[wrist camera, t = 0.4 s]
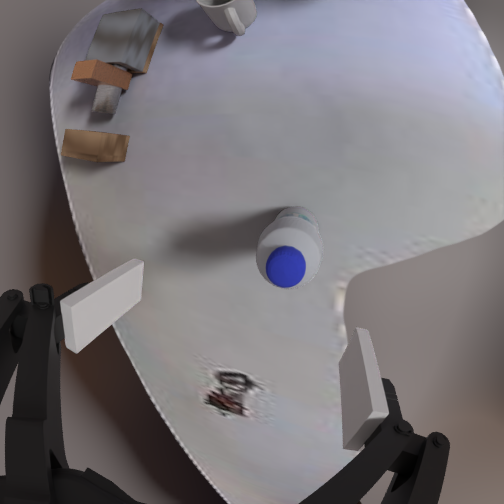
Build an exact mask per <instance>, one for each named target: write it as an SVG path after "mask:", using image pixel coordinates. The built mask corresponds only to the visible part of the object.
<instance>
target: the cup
mask: <svg viewBox="0 0 504 504" xmlns="http://www.w3.org/2000/svg"><path fill="white" fill-rule="evenodd" d="M196 1H197V2H198V4H199V5H200V6H201V7H202V9H203V10H204V11H205V12H206V14H207V15H208V16H209V18H210V19H211V20H212V21H213V23H214V24H215V25H216V26H217V27H218V28H219V29H221V30H223V31H228V32H234V33H235V34H236V35H237V36H242V35H244V34H245V28H247V27H248V26H250V25H251V24H252V23H253V22H254V21H255V19H256V17H257V10H256V6H255V3H254V1H253V0H196Z"/></svg>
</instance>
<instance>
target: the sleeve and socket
mask: <svg viewBox="0 0 504 504" xmlns="http://www.w3.org/2000/svg"><path fill="white" fill-rule="evenodd" d="M162 28H163V24H162V23H160V22H158V21H157V20H156V19H155V18H153V17H152V16H151V15H150V14H148V13H147V12H146V11H144V10H143V9H142V8H141V9H134V10H127V11H121V12H115V13H110V14H105V15H103V16H102V18H101V20H100V23H99V25H98V28H97V30H96V33H95V35H94V38H93V40H92V43H91V46H90V48H89V51H88V54H87V57H86V60H96V59H97V60H100V61H102V62H105V63H107V64H120V65H122V66H125V67H127V68H128V71H127V72H129V73H147V70H148V67H149V64H150V61H151V58H152V55H153V52H154V49H155V46H156V44H157V41H158V38H159V35H160V33H161V30H162ZM86 60H85V61H86ZM129 138H130V136H126V135H119V134H112V133H104V132H95V131H84V130H72V129H66V130H65V135H64V140H63V146H62V152H61V155H62V156H68V157H73V158H78V159H84V160H89V161H94V162H119V161H125V157H126V152H127V147H128V142H129Z"/></svg>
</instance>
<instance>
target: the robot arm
mask: <svg viewBox="0 0 504 504" xmlns="http://www.w3.org/2000/svg"><path fill="white" fill-rule="evenodd" d="M143 268H144V261H141V260H138V259H135V258H133V259H131V260H130V261H128V262H126V263H124V264H122V265H121V266H119V267H117V268H115V269H114V270H112V271H110V272H108V273H106V274H105V275H103V276H101V277H99V278H98V279H96V280H94V281H93V282H91V283H83V284H79V285H77V286H76V287H74V288H73V289H70V290H69V291H68V292H65V293H64V294H62V295H60V296H58V297H57V298H55V299H54V293H53V288H52V287H51V286H50V285H48V284H36V285H34V286H32V287H31V288H30V289H29V292H30V299H31V302H28V301H24V298H23V293H22V292H21V291H19V290H14V289H12V290H8V291H6V292H4V293H3V294H2V296H1V297H0V404H1V401H2V399H3V396H4V394H5V391H6V389H7V387H8V384H9V382H10V379H11V377H12V375H13V372H14V371H15V368H16V366H17V364H18V369H17V376H16V384H15V392H14V402H13V414H12V417H8V418H7V420H6V431H5V469H6V475H4V476H0V504H145V503H141V502H137V501H135V500H134V499H133V498H131V497H130V496H129V495H127V494H126V493H125V492H124V491H123V490H121V489H120V488H119V487H118V486H117V485H115V484H114V483H113V482H112V481H110V480H108V479H106V478H105V477H103V476H101V475H100V474H98V473H96V472H95V471H93V470H91V469H90V468H87V469H86V471H85V472H83V471H80V470H75V469H70V468H69V466H68V463H67V460H66V456H65V450H64V441H63V432H62V419H61V399H60V356H61V344H60V341H61V340H62V339H64V338H65V343H66V347H67V348H69V349H70V350H72V351H73V352H75V353H78V352H79V351H80V350H82V349H83V348H84V347H85V346H86V345H87V344H89V343H90V342H91V341H92V340H93V339H95V338H96V337H97V336H98V335H99V334H100V333H102V332H103V331H104V330H105V329H106V328H108V327H109V326H110V325H111V324H112V323H114V322H115V321H116V320H117V319H119V318H120V317H121V316H122V315H123V314H125V313H126V312H127V311H128V310H129V309H131V308H132V307H133V306H134V305H136V304H137V303H138V302H139V301H140V300H141V293H142V280H143ZM18 362H19V363H18ZM339 374H340V388H341V405H342V429H343V449H348V450H356V451H358V450H359V449H360V448H361V447H362V446H363V445H364V444H365V448H364V449H363V450H362V451H361V452H360V453H359V454H358V455H357V456H356V457H355V458H354V459H353V460H352V461H351V462H349V463H348V464H347V465H346V466H345V467H344V468H343V469H342V470H341V471H339V472H338V473H337V474H336V475H335V476H334V477H332V478H331V479H330V480H329V481H328V482H326V483H325V484H324V485H323V486H321V487H320V488H319V489H318V490H316V491H315V492H314V493H312V494H311V495H310V496H308V497H307V498H306V499H304V500H303V501H302V502H300V503H299V504H356V503H357V502H358V501H359V500H360V499H361V498H362V497H363V496H364V495H365V494H366V493H367V492H368V491H369V490H370V489H371V488H372V487H373V486H374V484H375V483H376V482H377V481H378V480H379V479H380V478H381V477H382V475H383V474H384V473H385V472H386V471H387V470H389V471H392V472H395V473H394V476H393V478H392V480H391V483H390V485H389V487H388V489H387V492H386V494H385V496H384V498H383V500H382V502H381V504H438V500H439V497H440V493H441V489H442V485H443V480H444V476H445V471H446V466H447V461H448V455H449V449H450V442H449V440H448V438H447V437H446V436H445V435H443V434H442V433H439V432H432V433H431V434H429V435H428V437H427V438H426V437H423V436H420V435H417V434H415V433H414V432H413V428H412V426H411V425H410V424H409V423H408V422H407V421H405V420H403V418H402V414H401V411H400V406H399V403H398V401H397V400H398V399H397V395H396V392H395V388H394V386H393V384H392V383H391V382H390V380H389V379H385V378H381V376H380V372H379V368H378V364H377V360H376V356H375V353H374V349H373V346H372V342H371V338H370V335H369V331H368V330H366V329H362V328H358V327H356V329H355V331H354V333H353V335H352V338H351V340H350V342H349V344H348V346H347V348H346V350H345V352H344V354H343V356H342V358H341V360H340V362H339Z"/></svg>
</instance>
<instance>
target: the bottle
mask: <svg viewBox="0 0 504 504" xmlns="http://www.w3.org/2000/svg"><path fill="white" fill-rule="evenodd" d="M318 232H319V229H318V222H317V220H316V218H315V216H314V215H313V214H312V213H311V212H310V211H309V210H307V209H305V208H303V207H299V206H295V207H289V208H286V209H284V210H282V211H281V212H280V213H279V214H278V215H277V217H276V219H275V220H274V221H273V222H272V223H271V224H269V225H268V226H267V227H266V228H265V229H264V230H263V232H262V234H261V235H260V238H259V240H258V245H257V253H256V262H257V266H258V269H259V271H260V273H261V275H262V276H263V277H264V279H266V280H267V281H268V282H269V283H271V284H272V285H274V286H276V287H279V288H283V289H294V288H299V287H301V286H304V285H305V284H307V283H308V282H310V281H311V280H312V279H313V278H314V276H315V275H316V273H317V271H318V269H319V266H320V264H321V262H322V258H323V253H324V248H323V242H322V239H321V237H320V234H319V233H318Z"/></svg>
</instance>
